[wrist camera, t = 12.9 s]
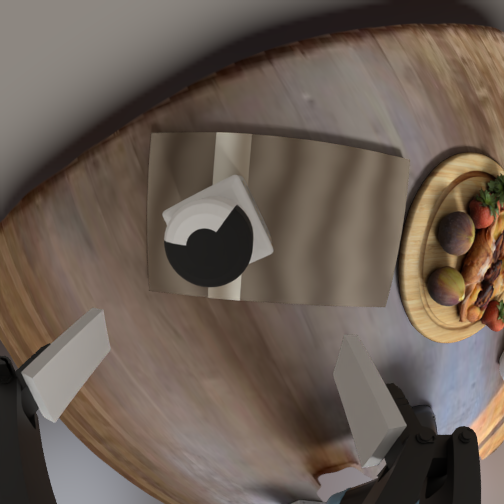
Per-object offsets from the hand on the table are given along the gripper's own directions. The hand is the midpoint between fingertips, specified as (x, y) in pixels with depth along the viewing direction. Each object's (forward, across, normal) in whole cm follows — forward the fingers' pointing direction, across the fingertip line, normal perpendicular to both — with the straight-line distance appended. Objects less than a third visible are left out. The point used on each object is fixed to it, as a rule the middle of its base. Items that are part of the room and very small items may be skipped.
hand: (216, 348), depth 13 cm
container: (+20, +2, -4) cm, 20 cm away
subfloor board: (+21, -4, -4) cm, 22 cm away
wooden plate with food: (+22, -37, -3) cm, 43 cm away
